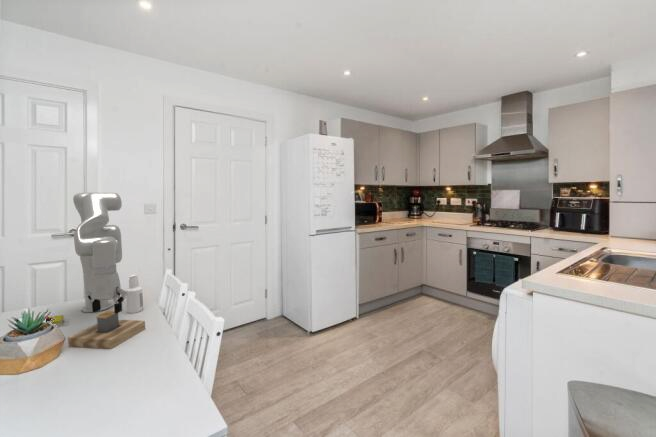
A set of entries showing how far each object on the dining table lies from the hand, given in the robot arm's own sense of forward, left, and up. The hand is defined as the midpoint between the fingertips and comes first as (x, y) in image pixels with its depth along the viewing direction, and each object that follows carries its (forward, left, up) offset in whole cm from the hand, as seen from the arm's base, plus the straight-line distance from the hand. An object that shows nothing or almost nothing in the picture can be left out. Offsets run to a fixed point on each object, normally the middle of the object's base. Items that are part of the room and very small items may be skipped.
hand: (107, 311), depth 126 cm
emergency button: (-35, -12, -11) cm, 39 cm away
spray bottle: (-23, +19, -11) cm, 32 cm away
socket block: (+1, 0, -10) cm, 10 cm away
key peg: (0, 0, -10) cm, 10 cm away
